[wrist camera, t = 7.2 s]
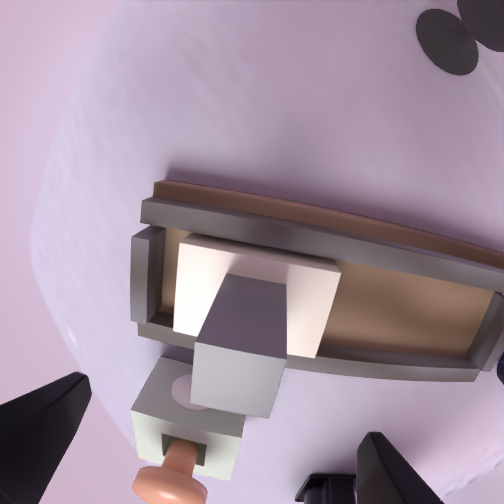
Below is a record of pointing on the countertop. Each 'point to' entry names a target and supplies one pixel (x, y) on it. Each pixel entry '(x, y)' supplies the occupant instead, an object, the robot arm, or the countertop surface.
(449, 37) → the sundae
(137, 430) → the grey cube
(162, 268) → the rail
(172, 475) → the button
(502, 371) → the beverage can
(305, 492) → the robot arm
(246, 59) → the countertop surface
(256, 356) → the carriage
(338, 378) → the countertop surface
